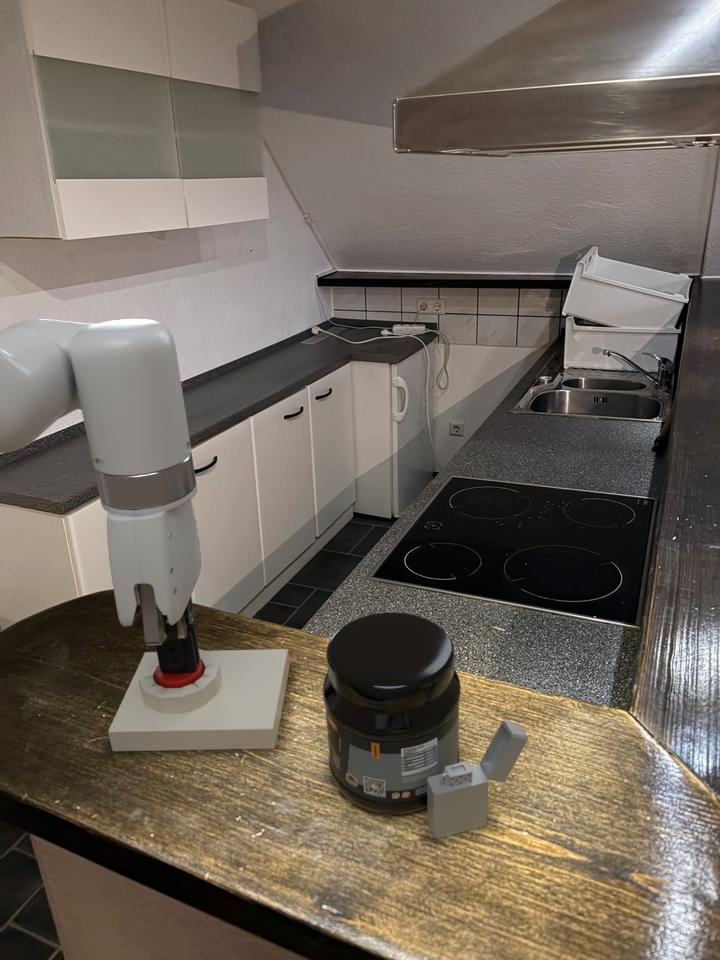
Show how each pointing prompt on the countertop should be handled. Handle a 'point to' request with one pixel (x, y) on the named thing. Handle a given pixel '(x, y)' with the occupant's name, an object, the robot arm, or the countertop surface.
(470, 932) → the countertop surface
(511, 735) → the lighter
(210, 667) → the grey button base
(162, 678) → the power button
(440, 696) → the supplement container
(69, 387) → the robot arm
